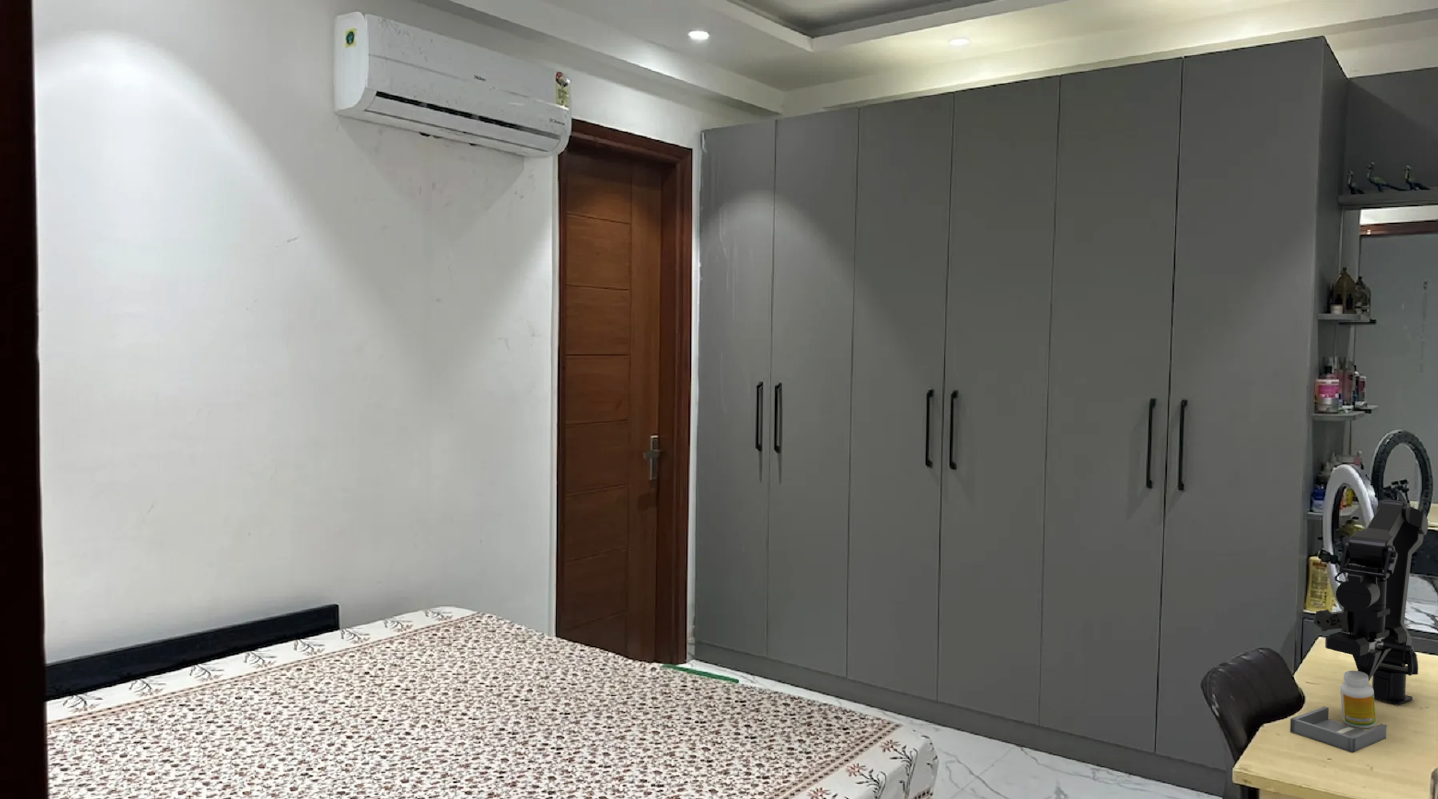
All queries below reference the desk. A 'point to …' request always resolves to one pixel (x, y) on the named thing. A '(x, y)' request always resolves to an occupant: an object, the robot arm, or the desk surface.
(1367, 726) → the supplement bottle
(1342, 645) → the robot arm
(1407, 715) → the desk surface
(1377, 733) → the tray
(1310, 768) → the desk surface
